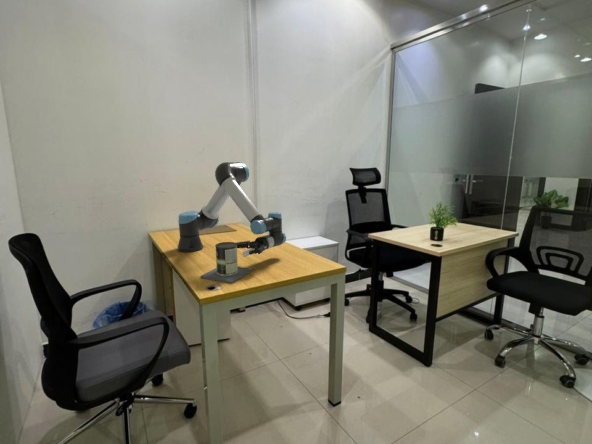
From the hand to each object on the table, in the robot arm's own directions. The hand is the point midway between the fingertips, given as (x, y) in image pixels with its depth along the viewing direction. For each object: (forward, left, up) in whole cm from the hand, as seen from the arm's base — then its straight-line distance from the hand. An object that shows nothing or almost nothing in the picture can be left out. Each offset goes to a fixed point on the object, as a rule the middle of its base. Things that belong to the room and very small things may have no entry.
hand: (234, 251), depth 155 cm
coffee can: (-1, -4, -10) cm, 11 cm away
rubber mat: (-1, -4, -10) cm, 11 cm away
